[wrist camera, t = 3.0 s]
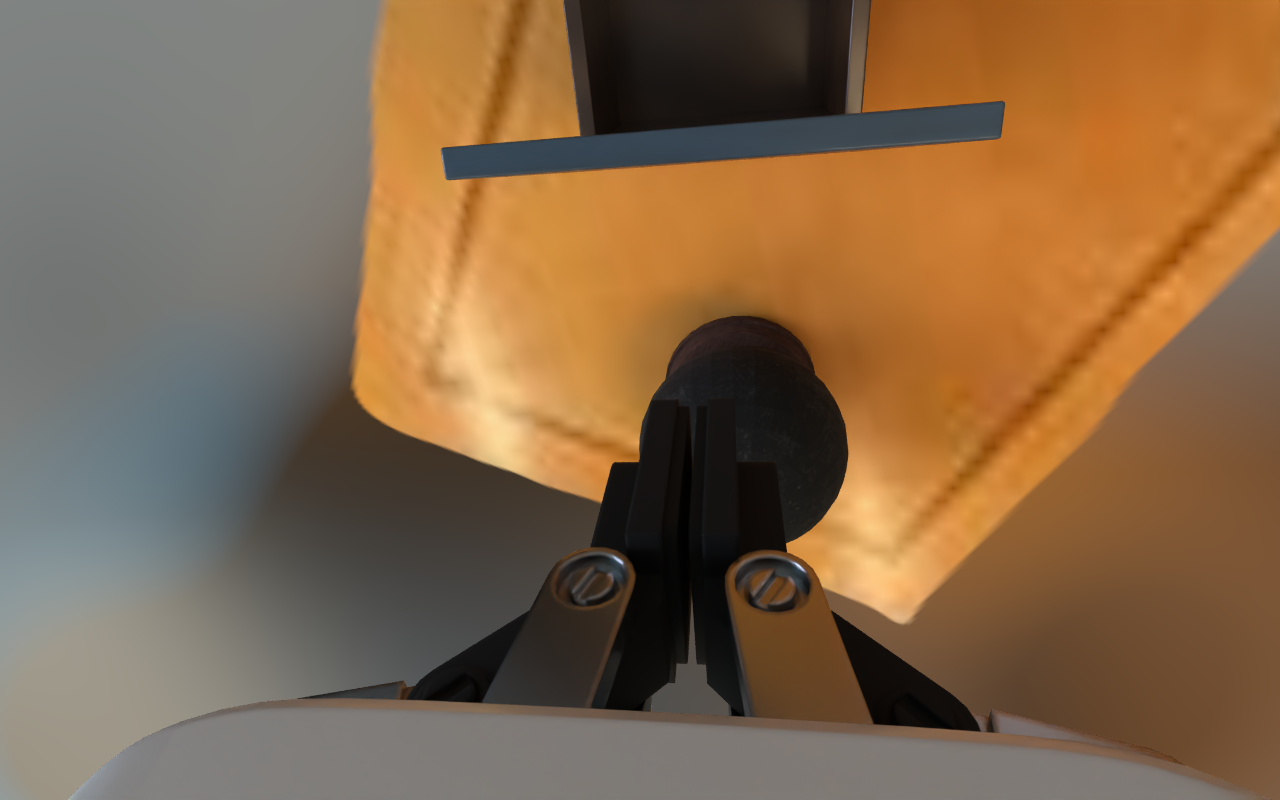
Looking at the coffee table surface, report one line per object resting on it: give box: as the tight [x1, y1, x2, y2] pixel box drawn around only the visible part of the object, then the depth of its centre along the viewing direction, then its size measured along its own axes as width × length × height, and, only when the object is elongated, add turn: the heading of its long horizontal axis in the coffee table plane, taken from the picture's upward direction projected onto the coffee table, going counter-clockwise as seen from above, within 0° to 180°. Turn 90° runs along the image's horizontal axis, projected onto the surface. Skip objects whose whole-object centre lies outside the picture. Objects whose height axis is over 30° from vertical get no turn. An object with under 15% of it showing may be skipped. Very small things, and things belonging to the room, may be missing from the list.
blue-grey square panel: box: [441, 101, 1005, 180], centre depth 23 cm, size 16×14×1 cm
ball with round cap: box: [639, 316, 848, 543], centre depth 41 cm, size 13×13×15 cm
